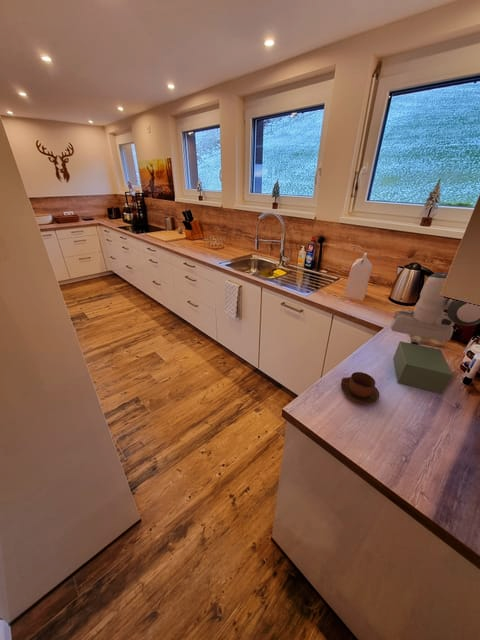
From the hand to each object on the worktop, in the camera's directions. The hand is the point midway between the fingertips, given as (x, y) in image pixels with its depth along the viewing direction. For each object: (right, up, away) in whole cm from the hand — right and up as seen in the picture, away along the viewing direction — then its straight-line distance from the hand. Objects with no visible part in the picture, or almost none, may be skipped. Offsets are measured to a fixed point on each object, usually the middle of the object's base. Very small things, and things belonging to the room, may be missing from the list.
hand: (413, 344), depth 107 cm
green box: (-5, -11, -9) cm, 15 cm away
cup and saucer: (-31, -15, -19) cm, 39 cm away
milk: (+1, +25, +57) cm, 62 cm away
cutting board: (+16, +3, +17) cm, 23 cm away
